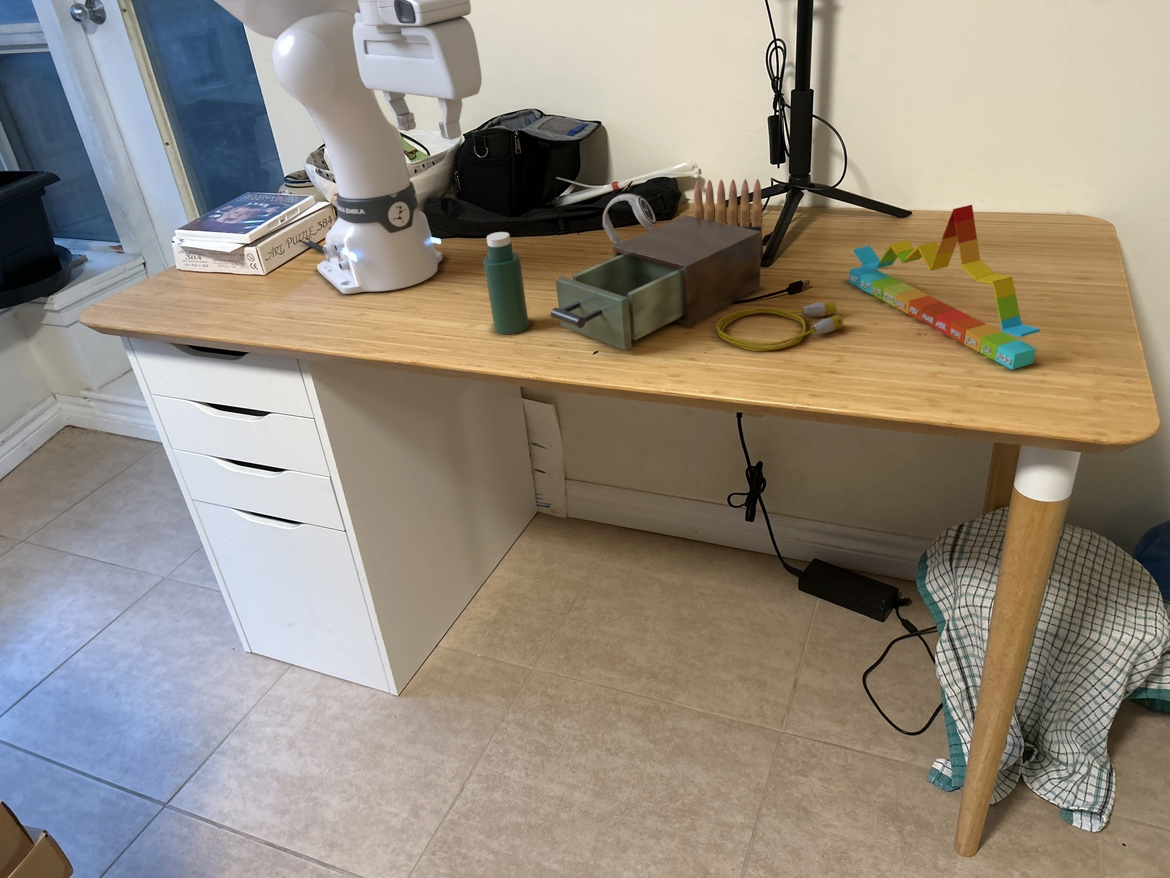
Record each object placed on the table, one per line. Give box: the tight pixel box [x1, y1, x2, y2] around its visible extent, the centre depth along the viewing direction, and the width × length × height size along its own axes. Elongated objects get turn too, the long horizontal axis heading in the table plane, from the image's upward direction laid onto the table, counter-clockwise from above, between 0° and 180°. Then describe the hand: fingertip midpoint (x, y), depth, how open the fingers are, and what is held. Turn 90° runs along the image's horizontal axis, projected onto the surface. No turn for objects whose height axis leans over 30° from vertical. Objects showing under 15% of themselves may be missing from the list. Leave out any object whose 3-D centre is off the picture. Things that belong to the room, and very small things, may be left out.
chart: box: [848, 204, 1041, 370], centre depth 104 cm, size 30×3×15 cm, turn 21°
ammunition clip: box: [692, 178, 764, 260], centre depth 129 cm, size 11×2×12 cm, turn 75°
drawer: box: [550, 254, 684, 351], centre depth 111 cm, size 19×12×7 cm, turn 133°
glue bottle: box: [482, 231, 530, 335], centre depth 114 cm, size 5×5×13 cm
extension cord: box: [715, 301, 845, 352], centre depth 108 cm, size 12×16×2 cm
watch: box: [602, 193, 657, 246], centre depth 130 cm, size 6×8×11 cm
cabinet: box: [612, 215, 761, 327], centre depth 118 cm, size 15×13×8 cm
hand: (428, 133), depth 98 cm, fingers open, 8 cm apart
